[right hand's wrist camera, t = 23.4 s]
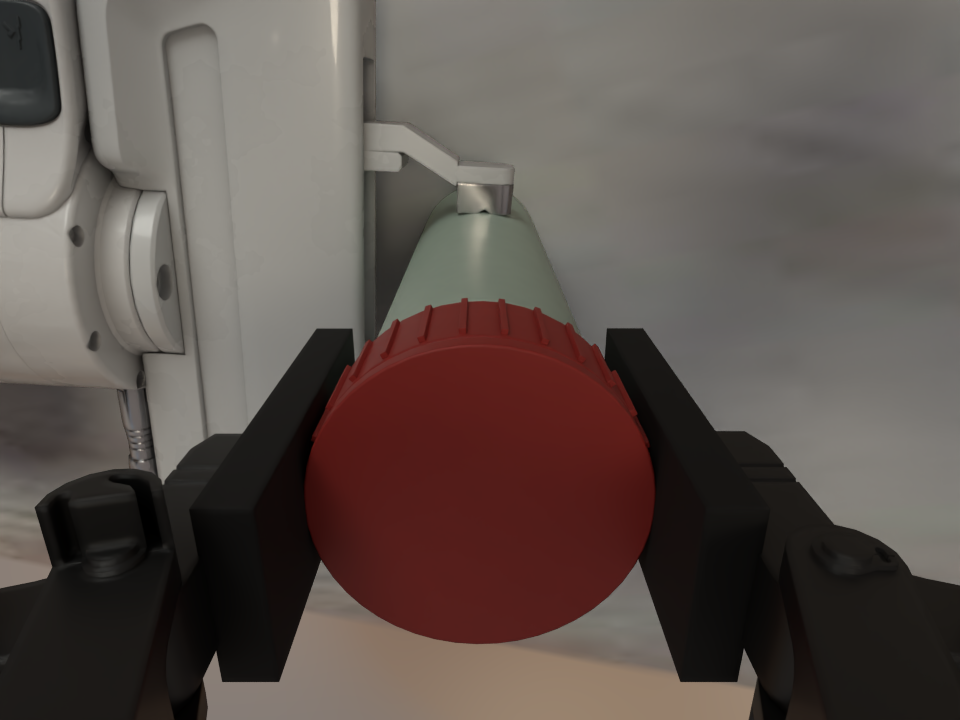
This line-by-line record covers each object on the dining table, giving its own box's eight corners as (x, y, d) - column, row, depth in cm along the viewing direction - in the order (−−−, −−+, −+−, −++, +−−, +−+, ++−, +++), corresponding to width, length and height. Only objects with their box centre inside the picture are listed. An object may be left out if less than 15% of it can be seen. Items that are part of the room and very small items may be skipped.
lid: (614, 565, 13) (639, 651, 11) (337, 560, 13) (312, 645, 11) (646, 299, 11) (684, 343, 9) (319, 292, 11) (282, 335, 9)
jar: (506, 313, 30) (543, 621, 12) (406, 269, 29) (295, 530, 12) (555, 214, 28) (679, 407, 11) (451, 165, 27) (399, 284, 10)
